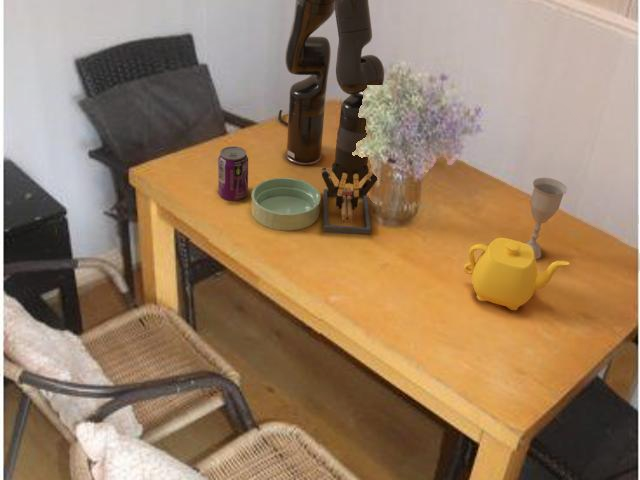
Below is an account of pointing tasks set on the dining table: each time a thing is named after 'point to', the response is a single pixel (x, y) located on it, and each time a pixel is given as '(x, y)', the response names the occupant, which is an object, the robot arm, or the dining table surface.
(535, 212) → the chalice
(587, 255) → the dining table surface
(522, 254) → the teapot
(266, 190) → the bowl
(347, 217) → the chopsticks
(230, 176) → the beverage can
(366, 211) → the tray
